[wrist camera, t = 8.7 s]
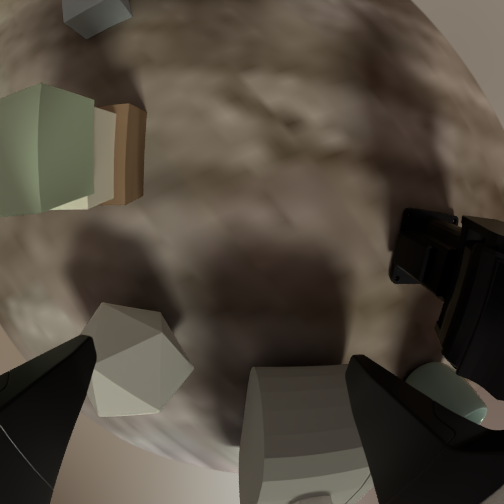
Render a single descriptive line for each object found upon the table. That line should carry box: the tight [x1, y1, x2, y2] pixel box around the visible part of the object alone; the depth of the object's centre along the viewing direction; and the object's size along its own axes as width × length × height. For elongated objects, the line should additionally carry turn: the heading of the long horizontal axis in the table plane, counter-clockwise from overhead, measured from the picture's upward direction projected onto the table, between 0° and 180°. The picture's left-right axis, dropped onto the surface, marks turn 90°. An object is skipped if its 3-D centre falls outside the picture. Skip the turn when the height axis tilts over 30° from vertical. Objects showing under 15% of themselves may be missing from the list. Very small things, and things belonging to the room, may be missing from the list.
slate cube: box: [62, 0, 132, 39], centre depth 12 cm, size 4×4×4 cm
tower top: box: [50, 107, 116, 210], centre depth 13 cm, size 5×5×4 cm
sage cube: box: [0, 83, 94, 217], centre depth 9 cm, size 4×4×4 cm
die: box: [80, 302, 194, 417], centre depth 19 cm, size 8×9×10 cm
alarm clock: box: [239, 364, 374, 504], centre depth 21 cm, size 21×10×13 cm, turn 175°
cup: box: [405, 362, 487, 425], centre depth 23 cm, size 8×8×10 cm
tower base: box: [96, 103, 147, 205], centre depth 16 cm, size 6×6×4 cm
